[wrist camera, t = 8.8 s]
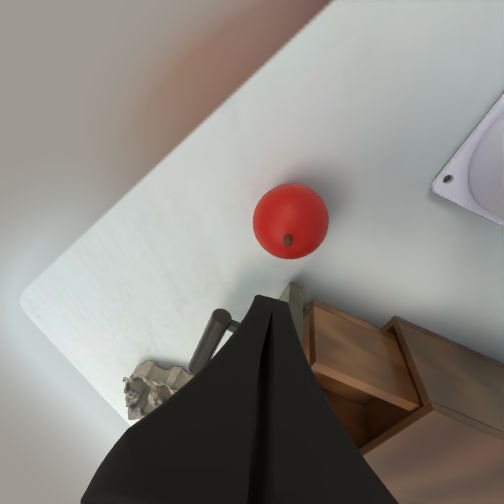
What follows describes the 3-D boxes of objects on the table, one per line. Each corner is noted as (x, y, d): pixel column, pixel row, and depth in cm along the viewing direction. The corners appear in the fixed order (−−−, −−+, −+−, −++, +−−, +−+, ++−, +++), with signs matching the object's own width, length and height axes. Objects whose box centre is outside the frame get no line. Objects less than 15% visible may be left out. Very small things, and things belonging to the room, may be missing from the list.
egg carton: (224, 374, 31) (214, 410, 27) (220, 410, 34) (211, 446, 31) (135, 353, 31) (114, 386, 28) (140, 391, 35) (122, 424, 32)
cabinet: (323, 386, 29) (329, 477, 22) (395, 315, 23) (434, 410, 16) (440, 436, 30) (480, 538, 23) (539, 379, 23) (635, 496, 17)
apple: (275, 163, 18) (265, 186, 14) (339, 193, 18) (350, 226, 14) (248, 222, 21) (232, 259, 16) (305, 248, 21) (305, 291, 16)
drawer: (200, 337, 27) (173, 399, 21) (236, 257, 21) (213, 312, 16) (361, 405, 28) (374, 480, 22) (434, 345, 23) (476, 425, 17)
